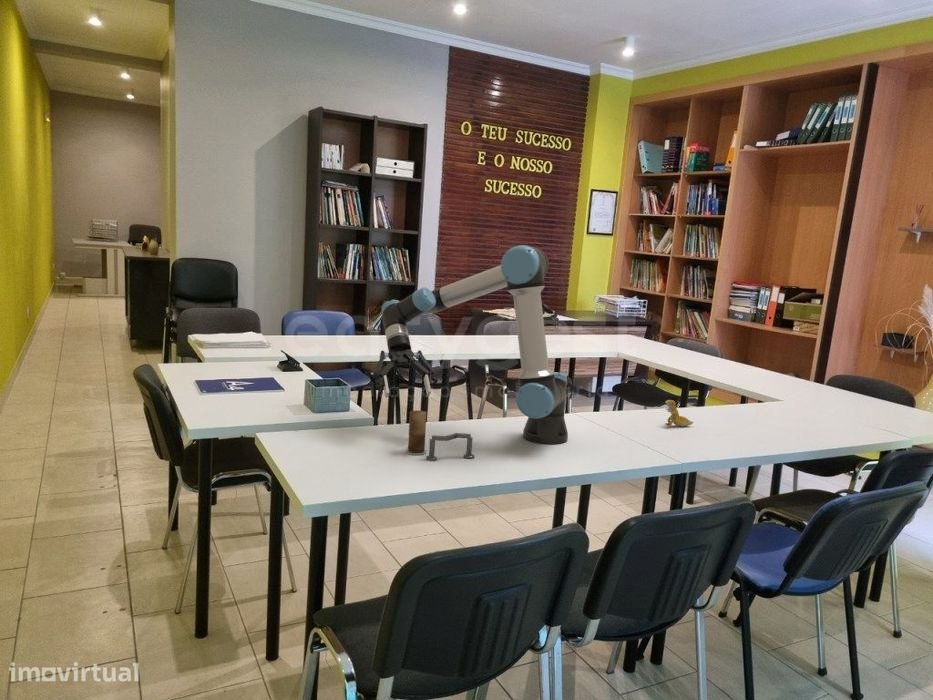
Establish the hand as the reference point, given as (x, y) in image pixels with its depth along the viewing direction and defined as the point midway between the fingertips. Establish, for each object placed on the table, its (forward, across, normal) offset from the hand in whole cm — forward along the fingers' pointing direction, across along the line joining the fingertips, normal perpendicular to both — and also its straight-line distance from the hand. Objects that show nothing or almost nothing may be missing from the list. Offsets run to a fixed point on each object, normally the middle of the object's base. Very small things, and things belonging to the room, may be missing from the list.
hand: (408, 394), depth 211 cm
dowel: (+18, 0, -4) cm, 18 cm away
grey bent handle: (+24, -9, +1) cm, 25 cm away
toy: (+7, -108, -17) cm, 109 cm away
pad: (+18, 0, -4) cm, 19 cm away
